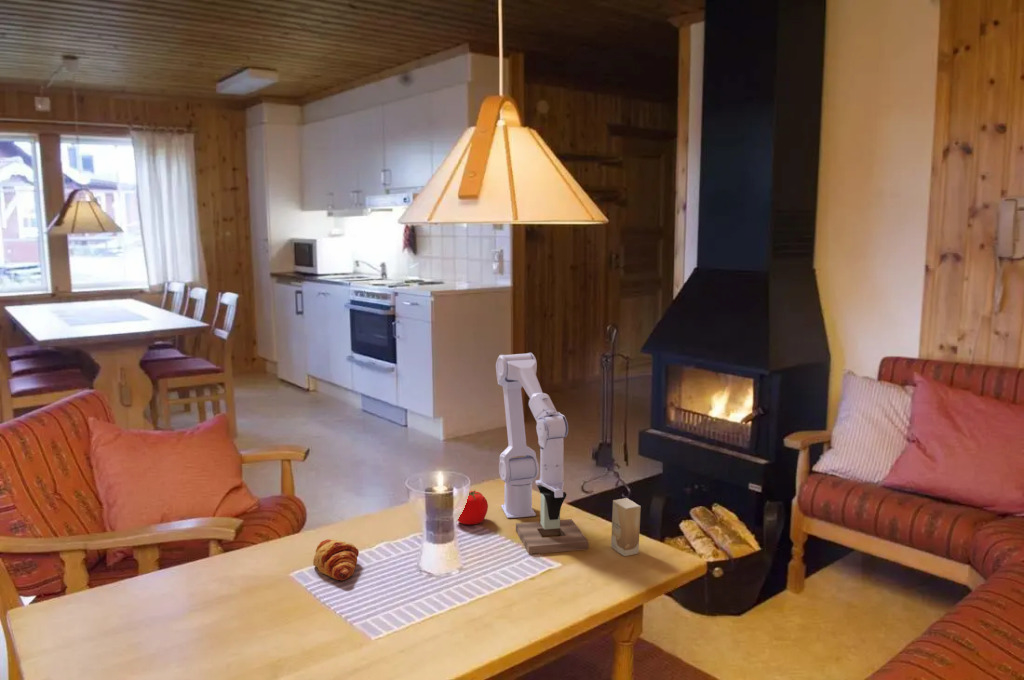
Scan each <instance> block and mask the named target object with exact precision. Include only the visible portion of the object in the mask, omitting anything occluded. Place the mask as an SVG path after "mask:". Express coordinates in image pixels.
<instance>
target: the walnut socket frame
mask: <svg viewBox="0 0 1024 680" xmlns="http://www.w3.org/2000/svg"><path fill="white" fill-rule="evenodd" d="M515 532H516V533H517V535H518V538H519V540H520V541H521V543H522V544H523V547H524V546H525V547H524V548H525V550H526V552H527V554H528V553H529V554H528V555H533V554H532V553H539V554H548V553H549V554H550V553H560V552H561V553H562V552H570V551H571V552H572V551H573V552H574V551H582V550H585V551H586V550H589V547H590V546H589V543H590V541H589V539H588V538H586V536H585V535H584V533H583V532H582V531H581V530H580V528H579V527H578V526H577V524H576V523H575V521H574V520H573V519H572V518H571V519H570V518H569V519H567V518H566V519H560V528H556V529H544V528H543V527H542V525H541V524H540V521H531V522H529V521H528V522H515ZM553 535H554V536H553ZM555 535H560V536H555ZM543 536H544V537H543ZM545 536H549V537H545ZM550 536H551V537H550Z"/></svg>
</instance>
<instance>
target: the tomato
mask: <svg viewBox="0 0 1024 680" xmlns="http://www.w3.org/2000/svg"><path fill="white" fill-rule="evenodd" d="M488 509H489V503H488V500H487V498H486V497H485V496H484V495H483V494H482V493H481V492H479V491H476V490H470V491H469V496H468V499H467V503H466V505H465V508H464V510H463V512H462V514H461V515H460V517H459V519H458V521H457V522H459V523H461V524H463V525H469V526H470V525H471V526H472V525H478V524H480V523H482V522H483V521H484V519H485V518H486V516H487V514H488Z"/></svg>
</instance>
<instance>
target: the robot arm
mask: <svg viewBox="0 0 1024 680" xmlns="http://www.w3.org/2000/svg"><path fill="white" fill-rule="evenodd" d="M537 364H538V363H537V359H536V356H535V355H534V354H533V352H527V353H515V354H514V353H513V354H499V356H498V357H497V359H496V362H495V371H496V379H497V385H498V386H500V387H502V391H503V401H504V412H505V422H506V423H505V424H506V433H507V443H508V446H507V447H506V448H505V449H504V450H503V451H502V452H501V453H500V454H499V464H498V472H499V476H500V479H501V480H502V481H503V482H504V486H503V487H504V488H503V489H504V493H503V495H504V497H503V498H504V500H503V501H504V502H503V504H501V507H500V508H501V510H502V511H503V513H504V514H505V517H507V519H515V518H527V517H529V518H530V517H536V516H537V513H536V512H535V510H534V509H533V483H535V484H536V486H537V488H538V491H539V494H540V495H541V493H543V495H544V497H545V499H546V503H547V508H548V515H549V519H550V520H556V519H558V517H559V514H560V515H561V509H562V505H563V504H564V501H565V499H566V498H567V493H566V491H564V485H565V480H564V445H565V444H564V441H565V440H564V439H565V438H567V436H568V433H569V423H568V421H567V418H566V416H565V415H564V414H562V413H561V412H560V411H557V409H556V407H555V405H554V403H553V401H552V399H551V396H550V395H549V394H547V393H545V392H543V390H542V387H541V384H540V382H539V380H538V377H537V371H538V370H537V367H538V365H537ZM522 388H523V389H524V391H525V393H526V395H527V397H528V398H529V399H528V407H529V409H530V412H531V414H532V416H533V418H534V419H535V421H536V425H535V428H536V430H535V431H536V434H537V438H538V441H537V443H538V446H539V447H540V449H539V450H540V451H539V453H540V459H539V460H540V464H539V462H538V460H537V454H536V450H533V449H532V448H531V447H530V446H528V445H527V438H526V428H525V415H524V405H523V397H522V396H523V395H522ZM539 473H540V475H539ZM538 475H539V479H536V478H537V477H538ZM535 479H536V480H535Z"/></svg>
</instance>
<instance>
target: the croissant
mask: <svg viewBox="0 0 1024 680" xmlns="http://www.w3.org/2000/svg"><path fill="white" fill-rule="evenodd" d="M359 555H360V552H359V549H358V548H357V547H356V546H355V545H354V544H353V543H350V542H345V541H343V540H342V541H341V540H338V539H330V538H329V539H325V540H322V541H319V544H317V546H316V549H315V554H314V556H313V562H312V564H313V566H314V567H316V568H317V570H318V571H319V572H320V573H321V574H322V575H325V576H328V577H330V578H332V579H334V580H337V581H345V580H348V579H349V578H351V576H353V574H354V572H355V569H356V567H357V565H358V556H359Z"/></svg>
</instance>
